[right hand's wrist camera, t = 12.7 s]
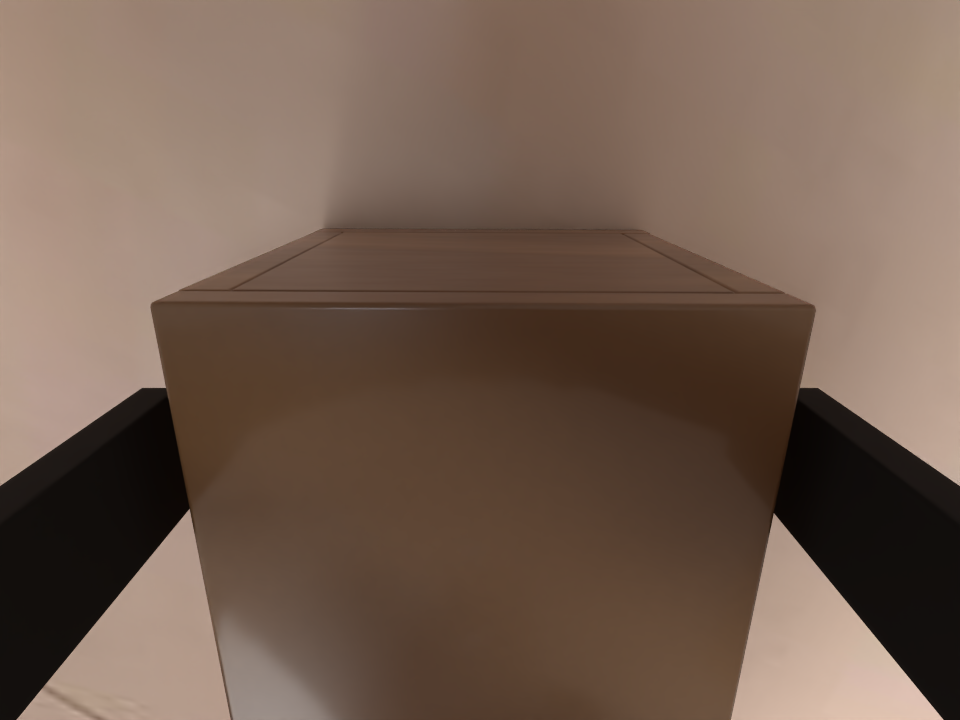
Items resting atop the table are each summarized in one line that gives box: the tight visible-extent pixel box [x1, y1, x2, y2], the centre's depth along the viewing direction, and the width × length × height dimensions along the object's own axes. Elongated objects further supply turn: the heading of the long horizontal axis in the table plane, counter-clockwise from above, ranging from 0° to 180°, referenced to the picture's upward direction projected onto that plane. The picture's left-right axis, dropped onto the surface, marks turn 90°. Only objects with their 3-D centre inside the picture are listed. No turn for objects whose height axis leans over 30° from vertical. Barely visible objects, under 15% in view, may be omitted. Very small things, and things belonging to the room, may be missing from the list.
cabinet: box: [151, 229, 816, 720], centre depth 18 cm, size 21×11×11 cm, turn 0°
